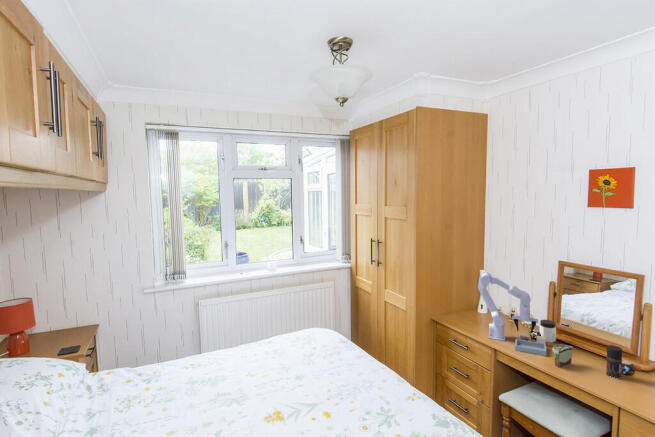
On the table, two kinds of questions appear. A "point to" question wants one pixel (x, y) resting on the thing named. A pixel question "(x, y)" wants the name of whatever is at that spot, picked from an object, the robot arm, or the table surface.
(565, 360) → the food container
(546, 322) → the jar
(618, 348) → the deodorant
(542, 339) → the white cube
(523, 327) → the table surface
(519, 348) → the tote
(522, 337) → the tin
